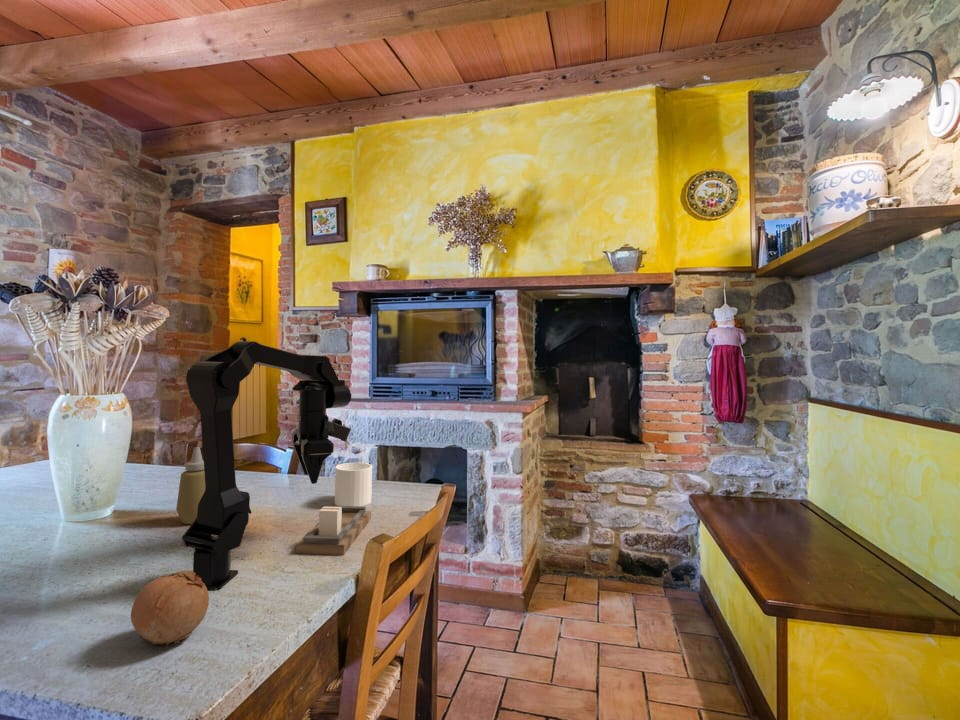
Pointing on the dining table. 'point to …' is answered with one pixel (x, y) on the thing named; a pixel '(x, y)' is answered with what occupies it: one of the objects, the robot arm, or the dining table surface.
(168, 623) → the onion
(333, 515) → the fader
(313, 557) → the dining table surface
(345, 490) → the mug
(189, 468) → the squeeze bottle
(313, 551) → the brown wooden tray
